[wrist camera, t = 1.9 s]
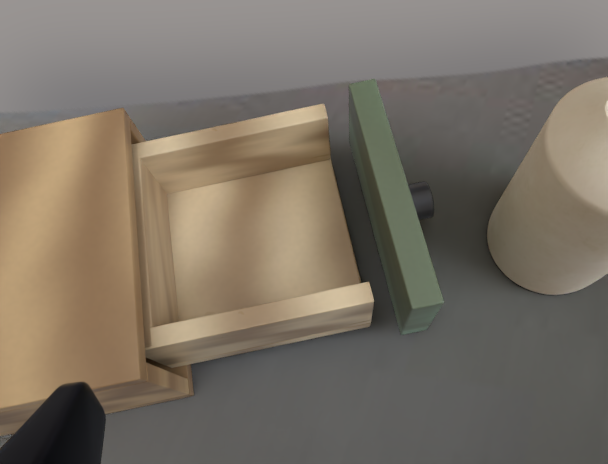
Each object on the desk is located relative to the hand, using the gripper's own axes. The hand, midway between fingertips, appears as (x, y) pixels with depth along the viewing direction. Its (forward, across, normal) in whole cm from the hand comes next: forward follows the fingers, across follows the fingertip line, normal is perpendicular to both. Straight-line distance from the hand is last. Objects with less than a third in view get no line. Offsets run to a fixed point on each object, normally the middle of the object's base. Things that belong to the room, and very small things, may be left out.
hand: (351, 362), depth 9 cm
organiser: (+13, +14, +9) cm, 21 cm away
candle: (+13, -10, +10) cm, 19 cm away
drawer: (+14, +2, +8) cm, 16 cm away
